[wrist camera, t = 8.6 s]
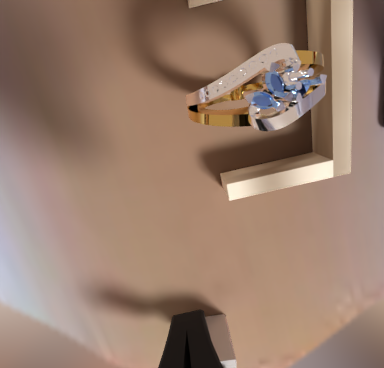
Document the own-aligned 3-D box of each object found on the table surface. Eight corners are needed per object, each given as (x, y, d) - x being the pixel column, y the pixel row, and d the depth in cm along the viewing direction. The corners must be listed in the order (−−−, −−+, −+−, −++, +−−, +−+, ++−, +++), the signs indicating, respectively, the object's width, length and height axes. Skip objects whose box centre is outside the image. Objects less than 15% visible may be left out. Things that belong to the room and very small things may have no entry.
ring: (283, 59, 16) (381, 24, 8) (284, 109, 17) (370, 118, 9) (180, 75, 16) (184, 54, 8) (187, 124, 17) (196, 145, 9)
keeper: (324, -50, 14) (354, -79, 12) (328, 163, 19) (350, 173, 16) (184, -16, 14) (186, -39, 12) (222, 187, 19) (229, 200, 16)
